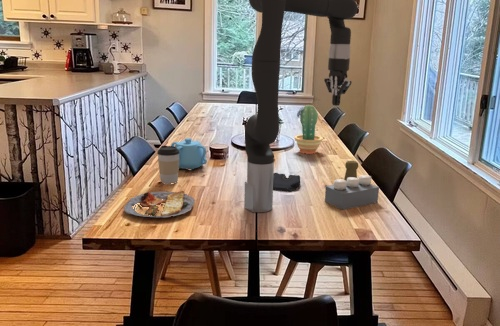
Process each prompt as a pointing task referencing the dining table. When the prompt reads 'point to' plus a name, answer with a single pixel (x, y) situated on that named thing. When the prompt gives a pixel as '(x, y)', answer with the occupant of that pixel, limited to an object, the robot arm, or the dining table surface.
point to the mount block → (351, 196)
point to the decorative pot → (190, 154)
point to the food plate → (173, 203)
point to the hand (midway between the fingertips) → (335, 105)
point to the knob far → (364, 180)
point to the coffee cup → (168, 164)
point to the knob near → (340, 184)
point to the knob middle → (352, 182)
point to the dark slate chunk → (285, 182)
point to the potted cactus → (308, 130)
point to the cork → (351, 169)
